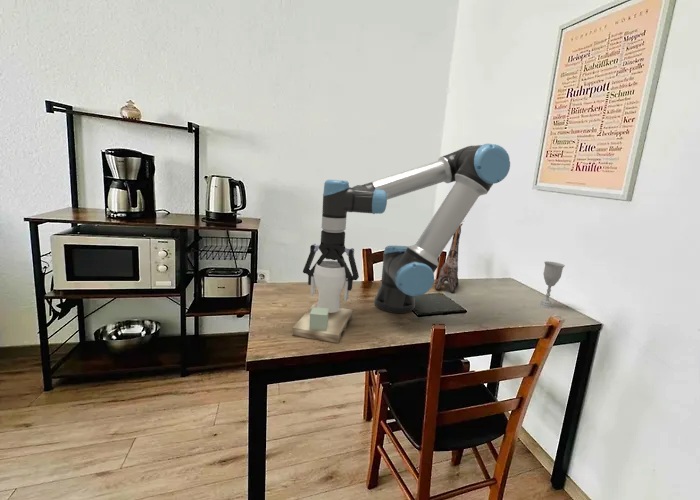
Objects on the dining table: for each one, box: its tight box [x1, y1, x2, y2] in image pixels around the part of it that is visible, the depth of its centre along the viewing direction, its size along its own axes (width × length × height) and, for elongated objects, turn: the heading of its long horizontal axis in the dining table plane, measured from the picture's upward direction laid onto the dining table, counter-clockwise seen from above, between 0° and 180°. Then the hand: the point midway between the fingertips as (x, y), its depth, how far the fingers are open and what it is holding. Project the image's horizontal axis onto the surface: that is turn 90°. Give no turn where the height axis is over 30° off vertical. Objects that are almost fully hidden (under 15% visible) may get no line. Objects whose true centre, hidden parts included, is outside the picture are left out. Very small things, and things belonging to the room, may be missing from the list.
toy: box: [434, 220, 464, 294], centre depth 158 cm, size 9×26×30 cm, turn 156°
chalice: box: [538, 260, 566, 309], centre depth 144 cm, size 7×7×18 cm
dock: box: [292, 303, 354, 344], centre depth 113 cm, size 14×20×2 cm
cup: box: [313, 259, 347, 313], centre depth 115 cm, size 11×11×15 cm
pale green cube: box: [309, 307, 329, 331], centre depth 106 cm, size 5×5×5 cm
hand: (329, 296), depth 115 cm, fingers closed on cup, 11 cm apart
